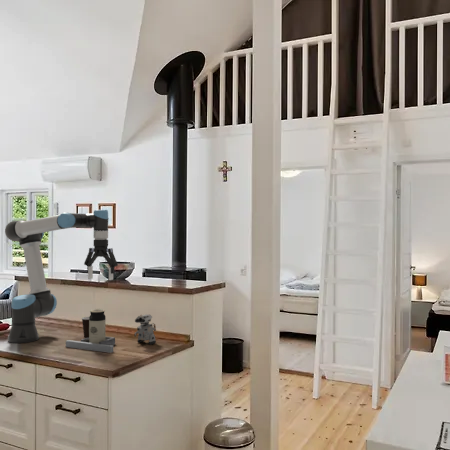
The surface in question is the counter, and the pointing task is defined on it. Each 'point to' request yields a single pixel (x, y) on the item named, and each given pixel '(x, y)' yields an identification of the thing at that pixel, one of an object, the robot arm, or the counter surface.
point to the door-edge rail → (89, 346)
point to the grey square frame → (106, 342)
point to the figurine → (145, 329)
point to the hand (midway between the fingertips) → (100, 279)
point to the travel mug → (97, 326)
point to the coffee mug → (85, 326)
